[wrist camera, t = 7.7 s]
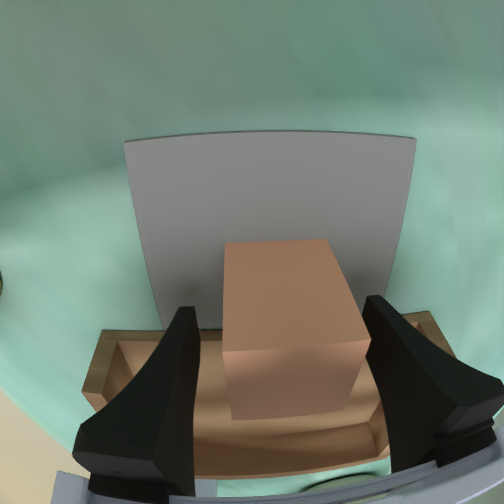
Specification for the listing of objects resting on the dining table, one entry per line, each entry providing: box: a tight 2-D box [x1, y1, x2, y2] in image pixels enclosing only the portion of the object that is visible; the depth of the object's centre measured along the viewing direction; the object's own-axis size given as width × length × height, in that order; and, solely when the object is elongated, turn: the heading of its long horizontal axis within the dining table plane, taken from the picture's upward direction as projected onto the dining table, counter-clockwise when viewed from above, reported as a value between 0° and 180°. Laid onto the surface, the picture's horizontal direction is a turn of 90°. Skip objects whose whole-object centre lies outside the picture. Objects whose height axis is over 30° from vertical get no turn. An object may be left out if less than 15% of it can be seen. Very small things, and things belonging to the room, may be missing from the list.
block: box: [222, 239, 371, 421], centre depth 13 cm, size 4×4×6 cm
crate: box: [82, 311, 457, 480], centre depth 19 cm, size 14×20×4 cm
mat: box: [123, 130, 417, 329], centre depth 14 cm, size 10×12×1 cm
